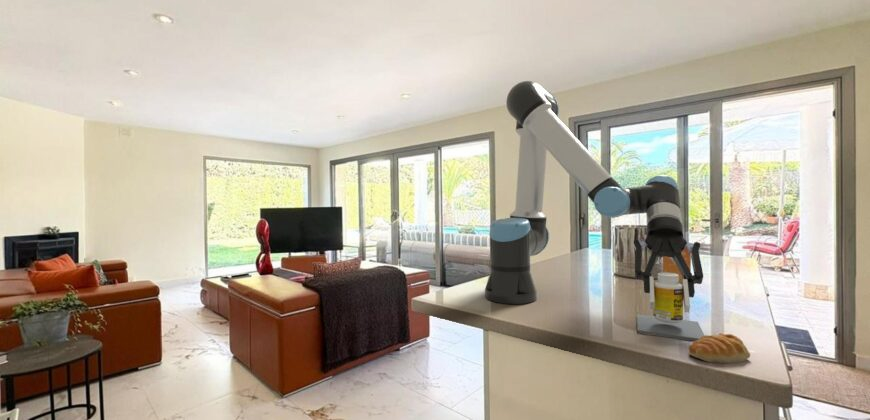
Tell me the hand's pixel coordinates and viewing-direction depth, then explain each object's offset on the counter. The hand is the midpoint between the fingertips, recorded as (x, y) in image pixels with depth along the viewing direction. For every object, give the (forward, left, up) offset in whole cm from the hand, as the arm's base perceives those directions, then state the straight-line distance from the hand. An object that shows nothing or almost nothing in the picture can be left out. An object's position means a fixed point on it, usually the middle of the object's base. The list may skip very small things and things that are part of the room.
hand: (669, 306), depth 76 cm
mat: (0, +4, -6) cm, 7 cm away
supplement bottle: (0, +4, -4) cm, 6 cm away
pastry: (+7, -9, -6) cm, 13 cm away
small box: (+6, +59, -6) cm, 59 cm away
